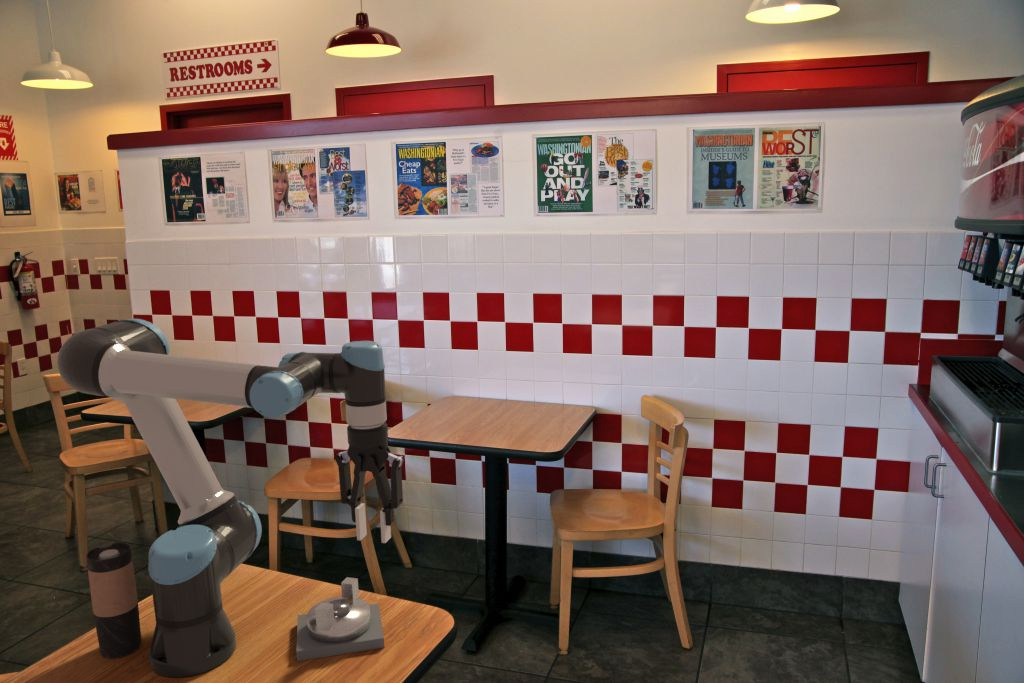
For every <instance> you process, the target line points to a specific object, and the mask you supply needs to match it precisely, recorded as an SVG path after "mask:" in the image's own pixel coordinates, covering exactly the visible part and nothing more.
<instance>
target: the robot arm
mask: <svg viewBox="0 0 1024 683" xmlns="http://www.w3.org/2000/svg"><path fill="white" fill-rule="evenodd" d="M169 353H170V344H169V340H168V338H167V337H166V335H165V334H164V332H163V331H162V329H160V328H159V327H158V326H157V325H155V324H154V323H152V322H151V321H147V320H145V319H141V318H128V319H119V320H117V321H114V322H109V323H106V324H102V325H99V326H96V327H92V328H87V329H85V330H80V331H78V332H76V333H73V334H72V335H71V336H70V337H68V338H67V339H66V341H65V342H63V344H62V346H61V347H60V349H59V351H58V354H57V359H56V363H57V364H56V365H57V369H58V374H59V375H60V377H61V378H62V380H63V381H64V382H65V383H66V384H67V386H69V387H70V388H72V389H73V390H76V391H78V392H79V393H82V394H87V395H93V396H99V397H107V398H111V399H112V400H113V401H117V402H120V403H122V404H124V406H125V407H126V410H127V411H128V413H129V415H130V417H131V418H132V421H133V423H134V424H135V426H136V428H137V430H138V432H139V434H140V436H141V438H142V440H143V441H144V443H145V445H146V447H147V449H148V451H149V453H150V455H151V457H152V459H153V460H154V462H155V464H156V466H157V468H158V470H159V471H160V473H161V475H162V477H163V479H164V481H165V483H166V484H167V487H168V488H169V490H170V492H171V494H172V496H173V498H174V500H175V501H176V504H177V506H178V507H179V510H180V513H179V514H180V515H179V517H178V520H177V523H178V525H179V526H178V527H177V528H176V529H175V530H173V529H170V530H168V531H166V532H165V533H163V534H161V535H160V536H159V537H158V538H156V539H155V541H154V542H153V543H152V544H151V546H150V548H149V551H148V566H147V569H148V570H147V571H148V575H149V579H150V585H151V592H152V593H151V594H152V601H153V609H154V616H155V627H154V631H153V635H152V639H151V642H150V646H149V651H148V654H149V662H150V663H149V664H150V668H151V670H152V671H154V672H155V673H156V674H158V675H160V676H163V677H169V678H170V677H171V678H185V677H189V676H190V677H191V676H195V675H199V674H202V673H204V672H205V673H206V672H207V671H210V670H213V669H215V668H216V667H219V666H220V665H222V664H223V663H224V662H226V661H227V660H228V659H230V657H231V656H232V655H233V654H234V652H235V650H236V648H237V638H236V632H235V629H234V627H233V626H232V623H231V621H230V620H229V617H228V616H227V614H226V611H225V610H224V608H223V607H224V606H223V599H222V588H221V584H222V582H223V581H224V580H225V579H226V578H228V576H230V575H231V574H232V573H233V572H234V571H235V570H236V569H237V568H238V567H239V566H240V565H241V564H242V563H244V562H246V561H247V560H248V559H249V558H250V557H251V555H252V554H253V552H254V551H255V550H256V548H257V547H258V545H259V544H260V540H261V537H262V531H263V530H262V523H261V519H260V517H259V515H258V513H257V511H255V509H254V508H253V507H252V506H251V505H250V504H245V502H244V501H240V500H238V499H237V497H236V495H235V493H234V492H232V491H229V490H226V489H224V488H222V486H221V484H220V481H219V480H218V478H217V476H216V474H215V472H214V471H213V468H212V467H211V464H210V463H209V461H208V459H207V456H206V455H205V453H204V451H203V449H202V447H201V446H200V443H199V441H198V440H197V438H196V436H195V434H194V432H193V429H192V427H191V426H190V424H189V422H188V420H187V418H186V417H185V414H184V413H183V411H182V408H181V406H180V405H179V403H178V401H177V400H182V401H183V400H184V401H192V402H199V403H206V404H207V403H209V404H217V405H226V406H231V407H232V406H233V407H241V408H249V409H254V411H256V412H257V413H259V414H260V415H261V416H262V417H265V418H269V419H276V418H280V417H282V416H285V415H288V414H290V413H292V412H293V411H295V410H297V408H299V407H300V406H302V405H303V404H304V403H306V402H307V401H308V400H310V399H312V398H313V397H315V396H316V395H318V394H343V395H344V402H345V418H346V424H348V426H347V427H346V432H347V444H348V448H347V450H342V451H341V452H338V453H337V454H336V455H335V456H334V459H335V462H336V465H337V467H338V468H337V469H338V478H339V479H338V480H339V491H340V492H339V493H340V501H341V503H342V504H347V505H348V506H350V508H351V509H350V510H351V521H352V523H355V528H356V541H362V540H363V539H364V538H365V537H366V536H367V535H368V534H367V532H368V531H367V530H368V529H367V515H366V503H364V502H363V503H362V501H363V500H364V499H362V497H363V491H364V484H365V480H366V474H367V472H370V473H371V474H372V477H373V479H375V483H376V487H377V490H378V494H379V498H380V502H381V504H382V508H381V509H380V510H379V518H380V522H379V523H380V538H381V539H380V540H381V544H386V543H387V542H388V541H389V540H390V539H391V538H392V528H391V526H392V525H393V524H394V522H395V509H398V507H400V506H401V505H402V504H403V502H404V499H403V497H404V494H403V474H402V473H403V472H402V471H403V470H402V469H403V468H402V467H403V464H404V461H405V457H404V456H403V455H402V454H401V455H395V454H393V453H391V450H390V447H389V428H388V424H387V422H386V421H387V419H388V418H387V417H388V415H387V414H388V413H387V398H386V397H387V396H386V377H385V375H386V374H385V368H386V366H385V362H384V354H383V347H382V345H381V344H380V343H379V342H376V341H373V340H359V341H357V340H356V341H355V340H353V341H349V342H346V343H344V344H343V345H341V351H340V352H336V353H333V352H331V353H329V352H325V353H324V352H305V351H300V352H290V353H289V352H288V353H286V354H284V355H283V356H282V358H281V360H280V361H279V363H278V365H277V366H270V365H268V366H267V365H258V364H252V363H244V362H233V361H228V360H227V361H225V360H218V359H208V358H207V359H206V358H201V357H200V358H199V357H198V358H197V357H190V356H181V355H173V354H169ZM350 460H351V462H352V463H353V464H354V468H353V469H354V470H353V481H352V472H351V462H350ZM387 461H388V462H389V464H388V466H389V468H390V472H389V473H390V474H389V476H390V482H389V479H388V475H387V467H386V463H387Z"/></svg>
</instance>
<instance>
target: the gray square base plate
mask: <svg viewBox="0 0 1024 683" xmlns="http://www.w3.org/2000/svg"><path fill="white" fill-rule="evenodd" d="M369 606H370V617H371V623H370V626H369V628H368V629H367V630H366V631H365V632H364V633H362V634H361V635H359V636H357V637H355V638H353V639H350V640H346V641H342V642H322V641H318V640H316V639H314V638H312V637H311V636H310V635H309V633H308V627H307V613H305V614H304V613H303V614H297V623H296V624H297V625H296V626H297V627H296V629H297V630H296V648H295V649H296V662H301V661H306V660H308V661H309V660H315V659H320V658H321V659H322V658H326V657H332V656H339V655H344V654H345V655H346V654H351V653H359V652H364V651H369V650H370V651H371V650H376V649H382V648H385V636H384V631H383V625H382V624H383V623H382V617H381V611H380V605H379V603H373V604H369Z"/></svg>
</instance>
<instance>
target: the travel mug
mask: <svg viewBox="0 0 1024 683" xmlns="http://www.w3.org/2000/svg"><path fill="white" fill-rule="evenodd" d="M133 564H134V563H133V556H132V549H131V545H130V544H128V543H127V542H113V543H112V544H111V545H108V546H105V547H101V546H96V547H94V548H92V549H90V550H89V551H88V552H87V554H86V565H87V573H88V574H87V575H88V582H89V590H90V598H91V606H92V612H93V620H94V625H95V630H96V634H97V635H96V636H97V640H98V641H97V642H98V647H99V648H98V649H99V651H100V655H101V656H102V657H103V658H104V659H105V658H106V659H119V658H122V657H126V656H129V655H130V654H133V653H135V652H136V651H137V650H139V649H140V647H141V646H142V634H141V633H142V632H141V622H140V621H141V620H140V611H139V599H138V598H139V597H138V593H137V592H138V591H137V585H136V577H135V570H134V565H133ZM135 650H136V651H135Z"/></svg>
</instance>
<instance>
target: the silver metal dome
mask: <svg viewBox="0 0 1024 683" xmlns="http://www.w3.org/2000/svg"><path fill="white" fill-rule="evenodd" d="M340 585H341V586H340V587H341V596H335V597H330V598H327V599H324V600H321V601H319V602H318V603H316V604H314V605H313V606H312V607H311V608H310V609H309V610H308V612H307V613H306V614H307V627H308V633H309V635H310V636H311V637H312V638H314V639H316V640H318V641H322V642H342V641H346V640H350V639H353V638H355V637H357V636H359V635H361V634H362V633H364V632H365V631H366V630H367V629H368V628H369V626H370V623H371V617H370V606H369V605H370V604H369V602H367V601H366V600H365V599H362V598H360V594H359V592H360V591H359V578H356V577H348V576H346V578H344V580H342V581H341V583H340Z"/></svg>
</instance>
